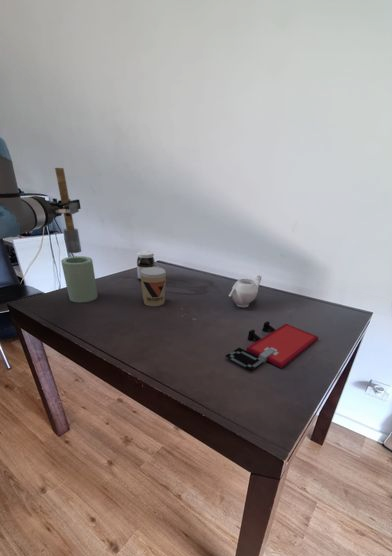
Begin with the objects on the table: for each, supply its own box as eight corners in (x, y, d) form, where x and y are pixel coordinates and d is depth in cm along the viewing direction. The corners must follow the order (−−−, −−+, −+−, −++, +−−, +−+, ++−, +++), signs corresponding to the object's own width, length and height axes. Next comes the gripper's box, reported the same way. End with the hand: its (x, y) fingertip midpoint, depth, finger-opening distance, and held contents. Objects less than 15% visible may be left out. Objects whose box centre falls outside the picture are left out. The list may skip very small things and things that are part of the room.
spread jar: (139, 275, 132) (137, 249, 125) (163, 276, 132) (163, 250, 126) (136, 284, 122) (134, 256, 115) (162, 285, 122) (162, 257, 116)
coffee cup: (143, 308, 102) (141, 275, 95) (140, 298, 109) (138, 267, 103) (168, 306, 104) (168, 274, 98) (164, 296, 112) (163, 266, 105)
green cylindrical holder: (63, 300, 104) (55, 262, 97) (78, 290, 113) (71, 255, 105) (89, 303, 103) (82, 265, 95) (102, 293, 111) (97, 257, 104)
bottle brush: (64, 252, 95) (47, 167, 82) (72, 249, 99) (56, 167, 86) (77, 253, 94) (61, 168, 81) (83, 250, 98) (70, 168, 85)
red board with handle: (219, 355, 77) (266, 382, 69) (220, 347, 76) (268, 373, 68) (275, 323, 96) (317, 340, 88) (276, 315, 95) (319, 332, 87)
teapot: (216, 308, 104) (218, 284, 99) (246, 294, 117) (250, 272, 112) (238, 316, 99) (241, 291, 94) (267, 301, 112) (271, 278, 107)
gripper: (8, 226, 76) (54, 214, 96) (64, 230, 75) (98, 217, 95) (-1, 195, 72) (49, 189, 92) (57, 198, 71) (95, 192, 91)
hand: (74, 203), depth 94 cm, fingers closed on bottle brush, 2 cm apart
